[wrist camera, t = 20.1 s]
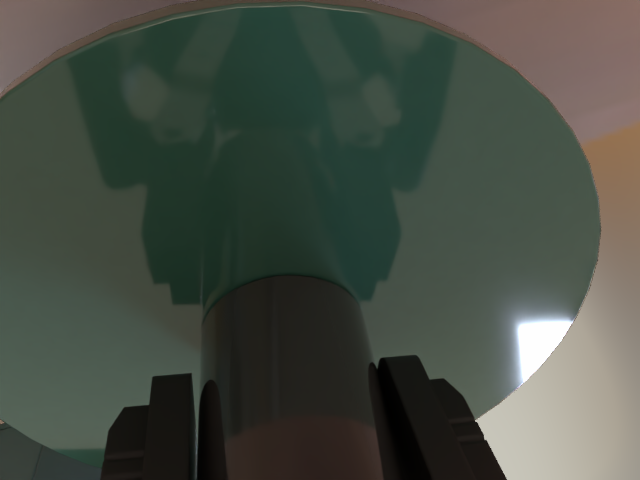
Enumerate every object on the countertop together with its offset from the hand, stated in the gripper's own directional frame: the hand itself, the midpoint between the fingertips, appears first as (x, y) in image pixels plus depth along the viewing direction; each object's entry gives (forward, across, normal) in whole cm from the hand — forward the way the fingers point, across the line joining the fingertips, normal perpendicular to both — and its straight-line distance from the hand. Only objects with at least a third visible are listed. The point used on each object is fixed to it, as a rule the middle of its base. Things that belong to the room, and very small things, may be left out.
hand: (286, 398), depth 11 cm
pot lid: (+2, 0, 0) cm, 2 cm away
